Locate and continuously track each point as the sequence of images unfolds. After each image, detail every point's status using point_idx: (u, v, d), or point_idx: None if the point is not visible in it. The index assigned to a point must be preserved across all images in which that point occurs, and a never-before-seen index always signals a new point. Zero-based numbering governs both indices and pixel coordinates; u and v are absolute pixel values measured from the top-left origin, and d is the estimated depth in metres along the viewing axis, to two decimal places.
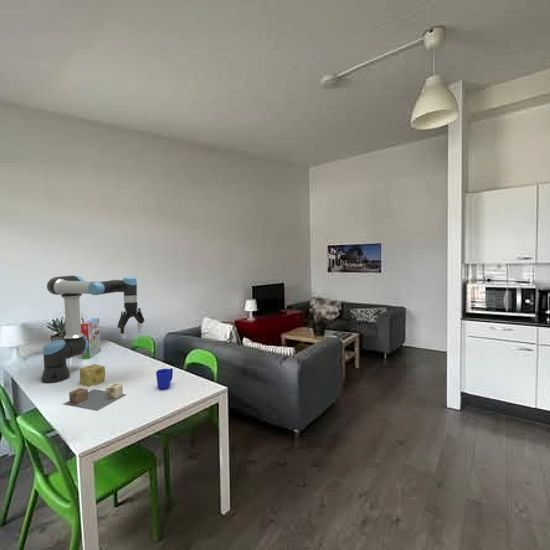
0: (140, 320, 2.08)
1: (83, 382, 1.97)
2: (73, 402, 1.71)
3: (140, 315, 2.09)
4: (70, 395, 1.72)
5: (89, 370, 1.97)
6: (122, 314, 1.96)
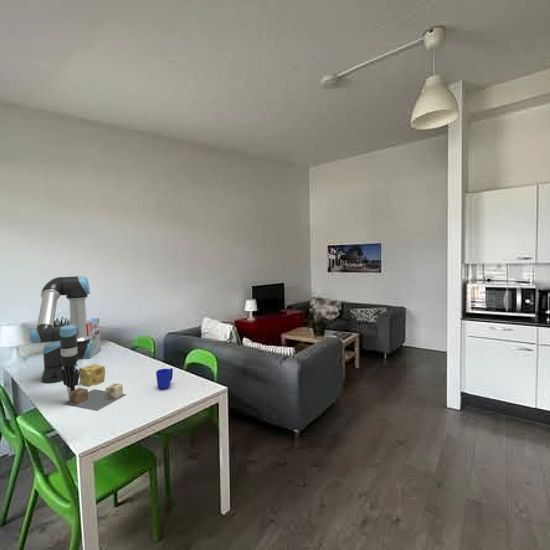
0: (70, 382, 1.74)
1: (83, 382, 1.97)
2: (73, 402, 1.71)
3: None
4: (70, 395, 1.72)
5: (89, 370, 1.97)
6: None
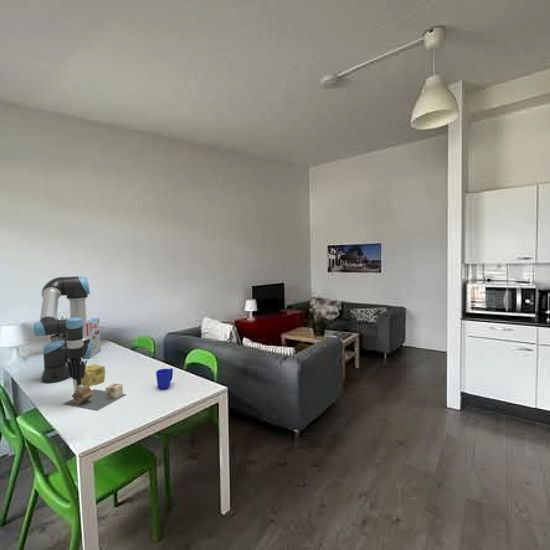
0: (76, 375, 1.72)
1: (83, 382, 1.97)
2: (75, 399, 1.71)
3: (80, 369, 1.71)
4: (76, 392, 1.70)
5: (89, 370, 1.97)
6: None
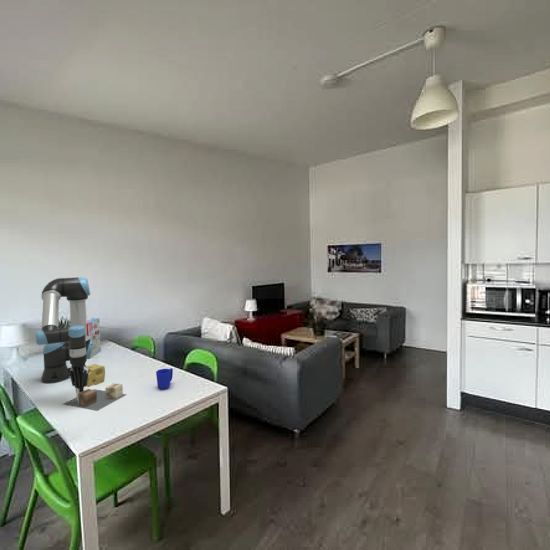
0: (79, 383, 1.72)
1: None
2: (79, 398, 1.70)
3: None
4: (84, 396, 1.69)
5: None
6: None
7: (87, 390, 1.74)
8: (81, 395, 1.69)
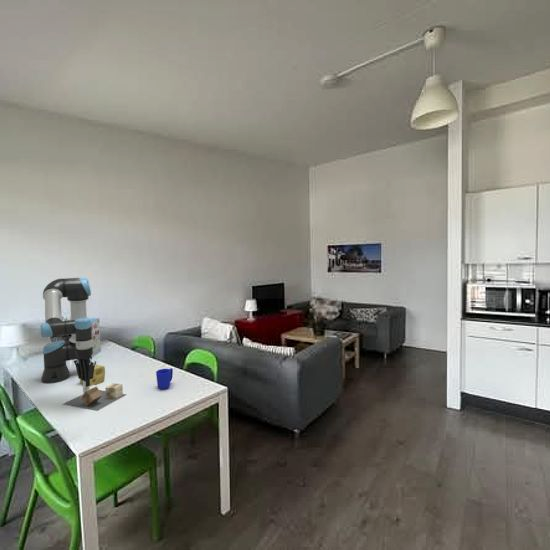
0: (85, 376, 1.70)
1: None
2: (84, 395, 1.69)
3: (89, 370, 1.69)
4: (90, 398, 1.67)
5: None
6: None
7: (95, 389, 1.72)
8: (88, 394, 1.68)
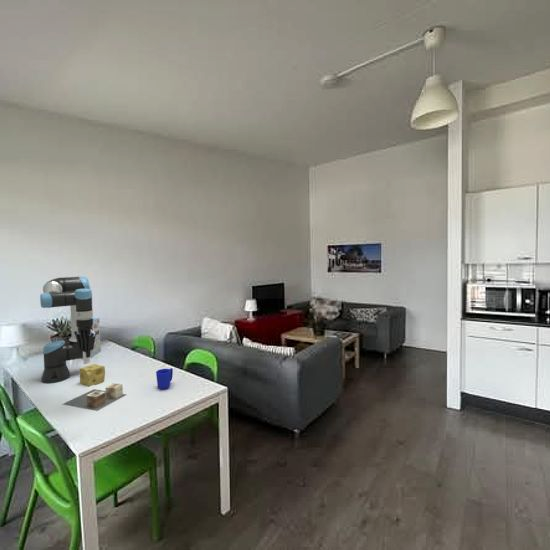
0: (85, 347, 1.69)
1: (83, 382, 1.97)
2: (91, 397, 1.67)
3: (89, 341, 1.68)
4: (94, 404, 1.67)
5: (89, 370, 1.97)
6: None
7: (102, 396, 1.70)
8: (94, 401, 1.67)
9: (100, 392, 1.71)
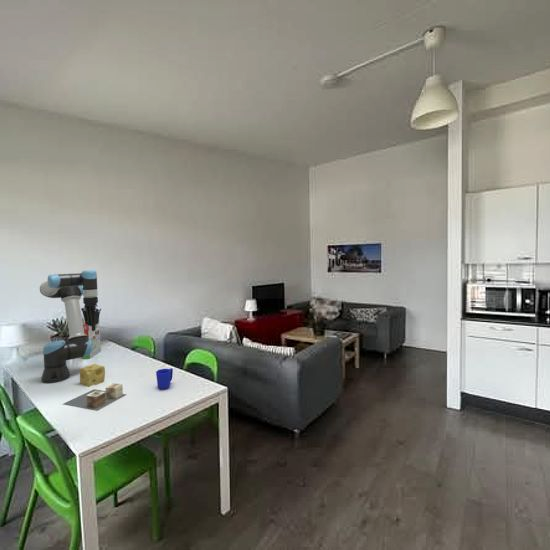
0: (91, 321, 1.91)
1: (83, 382, 1.97)
2: (91, 397, 1.67)
3: None
4: (94, 404, 1.67)
5: (89, 370, 1.97)
6: None
7: (102, 396, 1.70)
8: (94, 401, 1.67)
9: (100, 392, 1.71)
